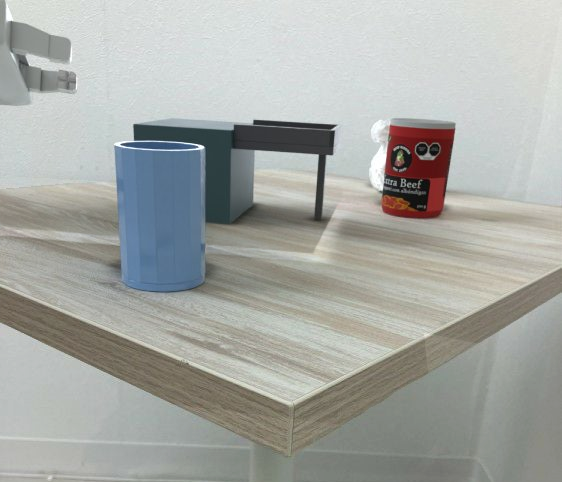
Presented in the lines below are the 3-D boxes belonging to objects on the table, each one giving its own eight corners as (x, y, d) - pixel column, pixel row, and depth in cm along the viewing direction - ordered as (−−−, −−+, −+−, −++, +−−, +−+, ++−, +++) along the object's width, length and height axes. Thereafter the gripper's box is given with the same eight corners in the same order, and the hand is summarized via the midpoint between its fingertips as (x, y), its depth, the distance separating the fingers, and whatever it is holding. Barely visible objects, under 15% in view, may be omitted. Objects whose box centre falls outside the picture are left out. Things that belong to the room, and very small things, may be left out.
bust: (398, 201, 103) (363, 138, 102) (440, 175, 99) (404, 109, 98) (373, 212, 93) (334, 143, 92) (418, 184, 89) (378, 111, 88)
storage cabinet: (137, 225, 68) (132, 118, 64) (173, 205, 79) (171, 113, 74) (325, 241, 65) (334, 131, 61) (335, 218, 76) (343, 124, 72)
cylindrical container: (108, 287, 48) (99, 146, 44) (139, 265, 54) (133, 139, 50) (191, 295, 47) (189, 152, 43) (213, 272, 53) (214, 144, 49)
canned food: (368, 210, 82) (377, 118, 78) (404, 205, 87) (415, 118, 83) (418, 221, 77) (431, 123, 73) (453, 214, 82) (468, 122, 78)
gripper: (-132, -57, 46) (69, -15, 50) (-60, 42, 66) (80, 67, 70) (-134, 35, 47) (65, 70, 51) (-62, 106, 67) (77, 128, 70)
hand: (74, 69), depth 60 cm, fingers open, 8 cm apart
